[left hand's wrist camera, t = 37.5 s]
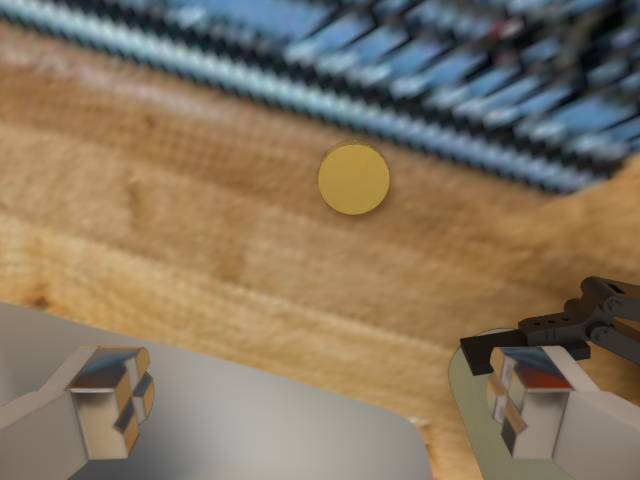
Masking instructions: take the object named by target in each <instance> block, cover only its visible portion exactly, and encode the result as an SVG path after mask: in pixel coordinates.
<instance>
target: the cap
mask: <svg viewBox="0 0 640 480" xmlns="http://www.w3.org/2000/svg"><path fill="white" fill-rule="evenodd" d="M318 174H319V175H318V186H319V190H320V193H321V195H322V197H323V199H324V200H325V202H326V203H327V204H328V205H329V206H330V207H332V208H333V209H335V210H336V211H338V212H341V213H344V214H350V215H357V214H363V213H366V212H368V211H370V210H372V209H374V208H375V207H376V206H378V205H379V204H380V203H381V202H382V200H383V199H384V197H385V196H386V194H387V191H388V188H389V183H390V175H389V168H388V166H387V165H386V162H385V158H384V156H382V155H381V153H380V152H379V151H378V149H377V148H375V147H373V146H372V145H370V144H369V143H368V142H367V143H366V142H363V141H358V140H349V141H347V140H346V141H344V142H341V143H339V144H336V145H335V146H334V147H332V148H331V149H330V150H328V152H327V153H326V155H325V156H324V158H322V160H321V165H320V168H319V169H318Z"/></svg>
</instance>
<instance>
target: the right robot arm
mask: <svg viewBox="0 0 640 480" xmlns="http://www.w3.org/2000/svg"><path fill="white" fill-rule="evenodd" d="M580 288H581V291H582V292H583V295H582V298H581V300H580V299H577V298H575V299H571V300H568V301H567V302H566V303H565V305H564V312H563V313H557V314H550V315H544V316H538V317H532V318H526V319H524V320H522V321H520V322H518V329H517V330H511V331H505V332H499V333H493V334H486V335H480V336H474V337H468V338H462V339H460V343H461V349H462V352H463V354H464V356H465V358H466V361H467V363H468V365H469V368H470V370H471V372H472V374H473V376H478V375H484V374H491V373H493V372H494V369H493V367H492V365H491V364H490V358H491V353H492V351H493V349H494V347H537V346H561V347H563V348H564V349H565V350H566V351H567V352H568V353H569V354H570V355H571V357H572V358H573V359H574V360H575V361H577V360H584V359H590V347H589V345H588V344H587V343H586V342H585V341H592V342H593V343H594V344H596V345H598V346H600V347H602V348H605V349H607V350H609V351H611V352H613V353H615V354H617V355H619V356H621V357H623V358H625V359H628V360H630V361H632V362H634V363H636V364H638V365H640V332H639V331H637V330H635V329H633V328H631V327H629V326H627V325H625V324H623V323H621V322H619V321H617V320H615V319H613V318H614V316H615V317H619V318H624V319H629V320H633V321H638V322H640V286H637V285H632V284H627V283H623V282H618V281H614V280H609V279H605V278H600V277H595V276H591V277H588V278H586V279H585V280H583V282H582V283H581V286H580Z"/></svg>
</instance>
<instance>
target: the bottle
mask: <svg viewBox="0 0 640 480" xmlns="http://www.w3.org/2000/svg"><path fill="white" fill-rule="evenodd" d="M511 330H515V329H495V330H490V331H486V332H483V333H481V334H478V335H476V336H480V335H486V334H493V333H499V332H505V331H511ZM491 374H492V373H491ZM491 374H484V375H478V376H473V374H472V372H471V370H470V368H469V365H468V363H467V361H466V358H465V356H464V354H463V352H462V349H461V347H460V348H459V349H458V350H457V352H456V353H455V355H454V356H453V358H452V360H451V363H450V366H449V383H450V386H451V389H452V391H453V394H454V397H455V400H456V403H457V406H458V408H459V411H460V414H461V417H462V420H463V423H464V425H465V428H466V431H467V434H468V437H469V440H470V442H471V445H472V448H473V451H474V454H475V457H476V459H477V462H478V465H479V468H480V471H481V474H482V476H483V479H484V480H573V479H572V478H571V477H570V476H569V475H567V474H566V473H565V472H564V471H563V470H562V469H560V468H559V467H558V466H557V465H556V464H554V463H553V462H552V460H546V459H513V458H512V456H511V454H510V452H509V450H508V448H507V446H506V444H505V442H504V440H503V438H502V436H501V429H502V425H500V424H499V423H498V422H496V421H495V420H493V418H492V416H491V414H490V412H489V409H488V405H487V401H486V383H487V378H488V377H489V376H490V375H491Z"/></svg>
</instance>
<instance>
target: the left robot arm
mask: <svg viewBox="0 0 640 480" xmlns="http://www.w3.org/2000/svg"><path fill="white" fill-rule="evenodd" d="M149 364H150V359H149V354H148V350H147V349H146V348H145V347H124V346H81V347H78V348H76V349H75V350H74V351H73V352H72V353H71V354H70V355H69V357H68V358H67V359H66V360H65V361H64V362H63V363H62V365H61V366H60V367H59V368H58V369H57V370H56V371H55V373H54V374H53V375H52V376H51V377H50V378H49V379H48V381H47V382H46V383H45V384H44V385H43V386H42V387H41V389H40V390H39V391H31V392H29V393H27V394H25V395H23V396H21V397H19V398H17V399H15V400H13V401H11V402H9V403H7V404H5V405H3V406H1V407H0V480H67V479H68V478H69V477H70V476H72V475H73V474H74V473H75V472H76V471H77V470H79V469H80V468H81V467H82V466H83V465H85V464H86V463H87V462H88V460H94V459H127V458H128V457H129V454H130V452H131V450H132V448H133V446H134V444H135V442H136V440H137V438H138V436H139V429H138V425H140V424H141V423H142V422H144V421H145V420H147V418H148V416H149V414H150V411H151V409H152V404H153V400H154V382H153V378H152V377H151V376H150V375H149V374H148V373H147V372H146V369H147V367H148V365H149ZM490 364H491V365H492V367H493V369H494V372H493V373H492V374H491V375H490V376H489V377H488V378H487V383H486V401H487V405H488V409H489V412H490V414H491V416H492V418H493V420H495V421H496V422H498V423H499V424H500V425H502V429H501V436H502V438H503V440H504V442H505V444H506V446H507V448H508V450H509V452H510V454H511V456H512V458H513V459H546V460H552V462H553V463H554V464H556V465H557V466H558V467H559V468H560V469H562V470H563V471H564V472H565V473H566V474H567V475H569V476H570V477H571V478H572V479H573V480H640V407H639V406H637V405H635V404H633V403H631V402H629V401H627V400H625V399H623V398H621V397H619V396H617V395H615V394H613V393H611V392H609V391H601V390H600V389H599V387H598V386H597V385H596V384H595V383H594V382H593V381H592V379H591V378H590V377H589V376H588V375H587V374H586V373H585V371H584V370H583V369H582V368H581V367H580V366H579V365H578V363H577V362H576V361H575V360H574V359H573V358H572V357H571V355H570V354H569V353H568V352H567V351H566V350H565V349H564V348H563V347H561V346H537V347H494V349H493V351H492V353H491V358H490Z"/></svg>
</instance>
